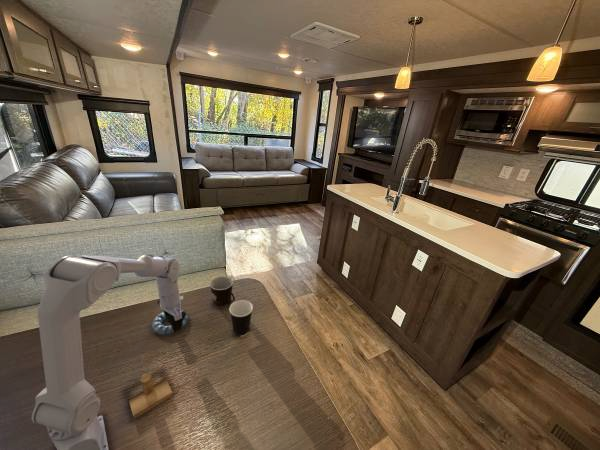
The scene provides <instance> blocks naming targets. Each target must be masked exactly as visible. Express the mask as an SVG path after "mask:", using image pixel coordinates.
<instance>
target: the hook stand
mask: <svg viewBox="0 0 600 450" xmlns="http://www.w3.org/2000/svg"><path fill="white" fill-rule="evenodd" d="M140 384H141V389H142V391H141V392H139V393H137V394H136V395H135V394H134V396H132V397H130V398H128V402H129V406H130V410H131V414H132V417H133V419H134V420H135V419H136V418H138V417H140V416H141V415H143V414H144V413H146V412H148V411H149V410H151V409H152V408H154V407H156V406H157V405H159V404H161V403H163V402H164V401H165V400H167V399H169V398H170V397H172V396H173V391H172V387H171V386H170V384H169V382H168V379H167V377H165V378H164V379H162V380H160V381H158V382H156V383H155V384H154V382H153V378H152V374H151V373H145V374H142V376H141V377H140Z"/></svg>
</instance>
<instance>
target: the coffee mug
mask: <svg viewBox="0 0 600 450" xmlns="http://www.w3.org/2000/svg"><path fill="white" fill-rule="evenodd" d="M233 285H234V280H233V279H232V278H231V277H229V276H226V275H225V276H223V275H222V276H217V277H215V278H212V280H210V283H209V287H210V291H211V296H212V301H213V303H214V305H216V306H217V307H218V306H219V307H224V306H227V305H228V304H229V305H231V304H232V303H234V302H235V301H236V298H235V295H234V293H233Z"/></svg>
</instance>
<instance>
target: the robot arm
mask: <svg viewBox="0 0 600 450" xmlns="http://www.w3.org/2000/svg"><path fill="white" fill-rule="evenodd" d="M180 268H181V263H180V262H179V261H178V260H177V259H176V258H171V257H166V256H165V255H155V254H153V253H147V254H146V255H140V256H139V257H137V258H136V259H134V258H125V257H117V256H109V255H87V254H86V255H80V257H78V256H77V255H65V256H62V257H61V258H59V259H57V260H56V261H55V262H54V263H53V264H52V265H50V266H49V268H48V269H46V271H44V273H43V277H44V278H43V279H44V286H45V288H44V290H43V291H44V292H43V294H42V297H41V299H40V302H39V305H38V307H37V321H38V329H39V337H40V338H39V339H40V347H41V353H42V354H41V355H42V363H43V372H44V379H45V387H44V388H43V389H42V390H41V391H40V392H39V393H38V394H37V395H36V396H35V405H34V408H33V410H32V414H31V421H32V423H33V424H36V425H42V426H44V427H46V430H47V434H48V436H49V438H50V439H51V441H52V443H53V445H54V447H55V448H56V450H109V449H110V448H109V443H108V438H107V432H106V426H105V421H104V416H103V415H99V416H98V414H99V411H100V408H101V398H100V397H99V396H97V394H96V389H95V387H93V385H91V384H90V383H89V382H88V381H87V380H86V378H85V369H84V355H83V344H82V343H83V341H82V330H81V329H82V327H81V316H80V313H81V311H83V310H86V309H89V308H90V307H91V306H92V305H93V304H94V303H96V301H98V300H99V299H100V298H101V297H102V296H103V295H105V294H106V293H107V292H108V291H109V290H110V289H111V288H112V286H114V284H115V282H118V281H119V280H120V277H121V274H129V273H130V274H131V273H134V274H135V276H137V277H140V278H155V281H156V287H157V293H158V300H157V302H156V303H157V305H158V306H159V308H160V309H161V310H162V312H164V313H165V316H166V319H165V320H166V321H167V323H168V324H169V325H170V326H172V328H173V330H174V333H176V332H179V331H181V330H182V328H183V327H182V322H183V320H184V318H185V316H186V314H187V313H186V311H185V310H184V311H182V312H181V310H182V309H181V308H182V302H184V300H185V298H184V296H183V295H180V289H179V283H178V279H179V277H180V276H179V271H180ZM181 327H182V328H181Z"/></svg>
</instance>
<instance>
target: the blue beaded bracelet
mask: <svg viewBox="0 0 600 450" xmlns="http://www.w3.org/2000/svg"><path fill="white" fill-rule="evenodd" d="M182 311H185V310H183V309H181V312H182ZM188 319H189V315H188V313H186V316H185V318H184V320H183V322H182V327H181V329H183V328H184V327H185V326H186V325H187V324H188ZM165 320H166V316H165V313H164V311H161V312H160V313H159V314H158V315H156V316H155V317H154V319H153V321H152V323H151V328H152V330H153V332H154V333H155V334H159V335H161V336H162V335H163V336H164V335H170V334H174V333H175V332H174V330H173V328H172V326H171V325H164V324H163V322H164V321H165Z"/></svg>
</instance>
